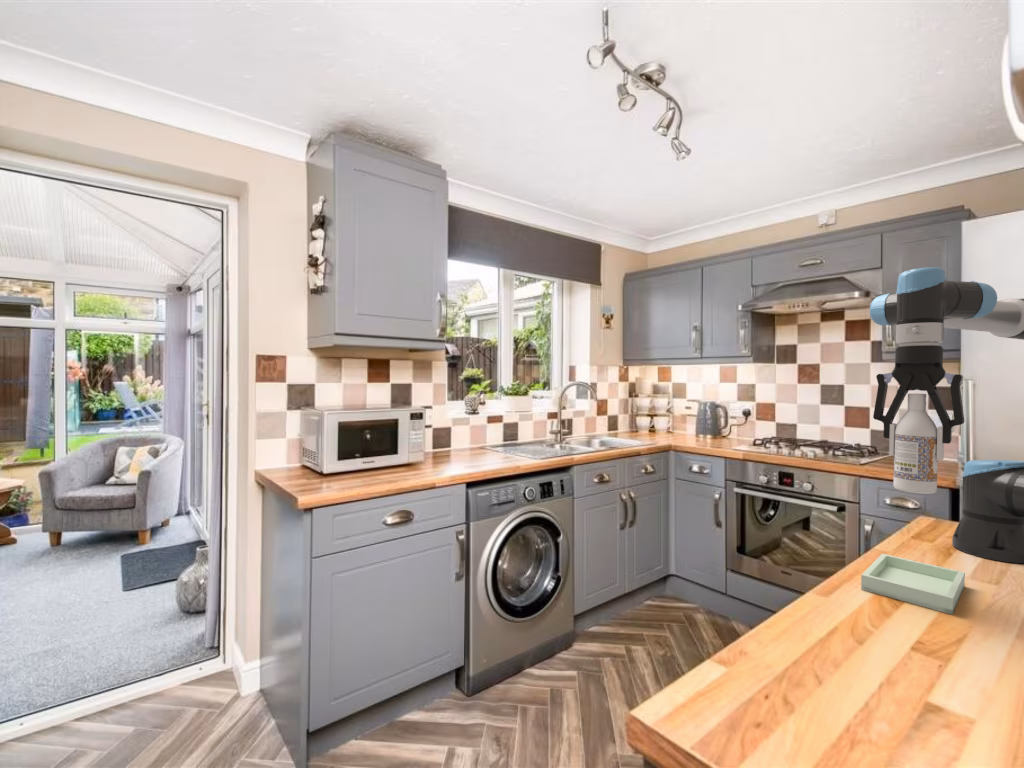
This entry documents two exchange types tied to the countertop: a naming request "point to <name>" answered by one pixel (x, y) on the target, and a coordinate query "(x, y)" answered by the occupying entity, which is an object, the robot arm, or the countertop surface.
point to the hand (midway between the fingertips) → (915, 456)
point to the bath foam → (916, 449)
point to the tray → (914, 582)
